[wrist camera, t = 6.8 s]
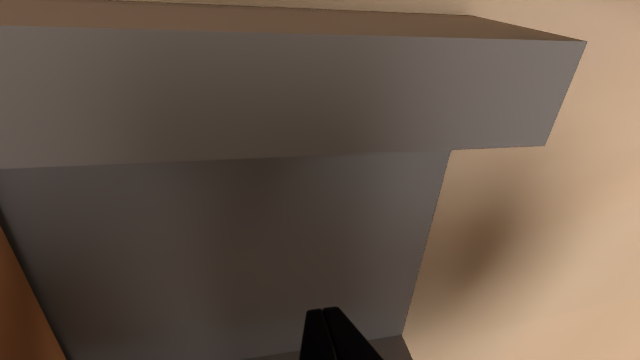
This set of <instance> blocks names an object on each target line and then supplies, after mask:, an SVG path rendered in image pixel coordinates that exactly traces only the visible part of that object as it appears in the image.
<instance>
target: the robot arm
mask: <svg viewBox="0 0 640 360" xmlns="http://www.w3.org/2000/svg"><path fill="white" fill-rule="evenodd" d="M299 360H384V359H383V358H382V357H381V355H380V354H379V353H378V352H377V351H376V350H375V348H374V347H373V346H372V345H371V344H370V343H369V342H368V340H367V339H366V338H365V337H364V336H363V335H362V333H361V332H360V331H359V330H358V329H357V328H356V326H355V325H354V324H353V323H352V322H351V321H350V319H349V318H348V317H347V316H346V315H345V314H344V312H343V311H342V310H341V309H340V308H339V307H337V306H333V307H325V308H323V310H322V309H320V308H318V309H311V310H307V312H306V317H305V323H304V329H303V336H302V342H301V348H300V354H299Z"/></svg>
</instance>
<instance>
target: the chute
mask: <svg viewBox="0 0 640 360" xmlns="http://www.w3.org/2000/svg"><path fill="white" fill-rule="evenodd" d="M586 44H587V41H583V40H578V39H574V38H569V37H565V36H561V35H556V34H552V33H547V32H543V31H538V30H534V29H529V28H525V27H521V26H516V25H512V24H507V23H503V22H498V21H494V20H489V19H485V18H481V17H476V16H469V15H445V14H421V13H397V12H374V11H350V10H326V9H302V8H278V7H255V6H231V5H207V4H183V3H159V2H136V1H112V0H0V226H1V228H2V230H3V232H4V234H5V236H6V238H7V240H8V242H9V244H10V246H11V248H12V250H13V252H14V254H15V256H16V258H17V260H18V262H19V264H20V267H21V269H22V271H23V273H24V275H25V277H26V279H27V281H28V283H29V285H30V287H31V289H32V291H33V293H34V295H35V297H36V299H37V301H38V303H39V305H40V307H41V309H42V311H43V313H44V315H45V317H46V319H47V321H48V323H49V325H50V327H51V329H52V332H53V334H54V336H55V338H56V340H57V342H58V344H59V346H60V348H61V350H62V352H63V354H64V356H65V358H66V360H299V354H300V348H301V342H302V336H303V329H304V323H305V317H306V312H307V310H311V309H318V308H320V309H322V310H323V308H325V307H333V306H337V307H339V308H340V309H341V310H342V311H343V312H344V314H345V315H346V316H347V317H348V318H349V319H350V321H351V322H352V323H353V324H354V325H355V326H356V328H357V329H358V330H359V331H360V332H361V333H362V335H363V336H364V337H365V338H366V339H367V340H368V342H369V343H370V344H371V345H372V346H373V347H374V348H375V350H376V351H377V352H378V353H379V354H380V355H381V357H382V358H383V359H384V360H413V359H412V357H411V355H410V353H409V350H408V348H407V346H406V344H405V342H404V339H403V337H402V332H403V328H404V324H405V321H406V317H407V313H408V309H409V306H410V302H411V298H412V294H413V291H414V287H415V283H416V279H417V276H418V272H419V268H420V264H421V261H422V257H423V253H424V249H425V246H426V242H427V238H428V234H429V231H430V227H431V223H432V219H433V216H434V212H435V208H436V204H437V201H438V197H439V193H440V189H441V186H442V182H443V178H444V174H445V171H446V167H447V163H448V159H449V156H450V152H451V150H461V149H484V148H508V147H532V146H545V144H546V142H547V139H548V137H549V134H550V132H551V129H552V127H553V124H554V122H555V120H556V117H557V115H558V112H559V110H560V107H561V105H562V103H563V100H564V98H565V95H566V93H567V90H568V88H569V85H570V83H571V81H572V78H573V76H574V73H575V71H576V68H577V66H578V64H579V61H580V59H581V56H582V54H583V51H584V49H585V46H586Z"/></svg>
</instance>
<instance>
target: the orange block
mask: <svg viewBox="0 0 640 360" xmlns="http://www.w3.org/2000/svg"><path fill="white" fill-rule="evenodd" d="M0 360H66V358H65V356H64V354H63V352H62V350H61V348H60V346H59V344H58V342H57V340H56V338H55V336H54V334H53V332H52V329H51V327H50V325H49V323H48V321H47V319H46V317H45V315H44V313H43V311H42V309H41V307H40V305H39V303H38V301H37V299H36V297H35V295H34V293H33V291H32V289H31V287H30V285H29V283H28V281H27V279H26V277H25V275H24V273H23V271H22V269H21V267H20V264H19V262H18V260H17V258H16V256H15V254H14V252H13V250H12V248H11V246H10V244H9V242H8V240H7V238H6V236H5V234H4V232H3V230H2V228H1V226H0Z"/></svg>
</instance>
